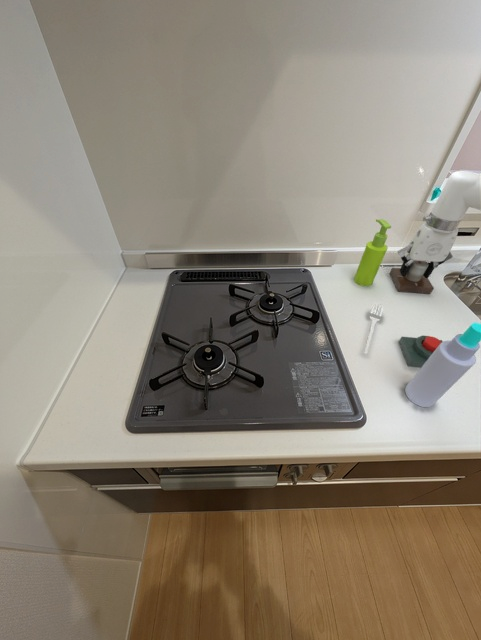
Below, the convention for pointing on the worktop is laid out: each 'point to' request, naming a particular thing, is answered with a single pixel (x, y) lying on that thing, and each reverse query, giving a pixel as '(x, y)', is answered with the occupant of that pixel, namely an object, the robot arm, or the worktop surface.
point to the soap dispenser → (372, 256)
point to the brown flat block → (410, 283)
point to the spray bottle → (444, 367)
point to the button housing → (414, 351)
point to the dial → (416, 270)
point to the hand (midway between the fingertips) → (413, 274)
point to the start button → (431, 343)
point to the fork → (372, 326)
